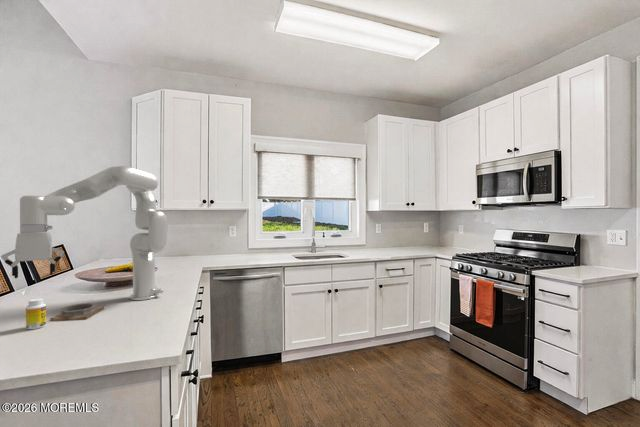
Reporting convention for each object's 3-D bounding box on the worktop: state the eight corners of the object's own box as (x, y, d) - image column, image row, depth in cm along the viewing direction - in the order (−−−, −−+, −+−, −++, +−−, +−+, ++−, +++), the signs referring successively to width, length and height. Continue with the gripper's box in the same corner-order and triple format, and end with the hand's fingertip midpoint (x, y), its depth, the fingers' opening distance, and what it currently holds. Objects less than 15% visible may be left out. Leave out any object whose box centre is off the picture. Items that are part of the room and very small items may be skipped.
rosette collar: (104, 309, 140) (104, 302, 140) (86, 319, 127) (86, 311, 127) (71, 310, 138) (71, 303, 138) (50, 320, 125) (50, 313, 125)
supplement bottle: (43, 328, 117) (42, 300, 117) (23, 331, 115) (23, 302, 115) (48, 323, 122) (47, 296, 122) (29, 326, 120) (28, 298, 120)
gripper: (63, 228, 126) (64, 271, 127) (2, 229, 116) (2, 277, 116) (64, 229, 121) (64, 274, 121) (-1, 230, 110) (-1, 281, 110)
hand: (34, 276), depth 118 cm, fingers open, 9 cm apart
